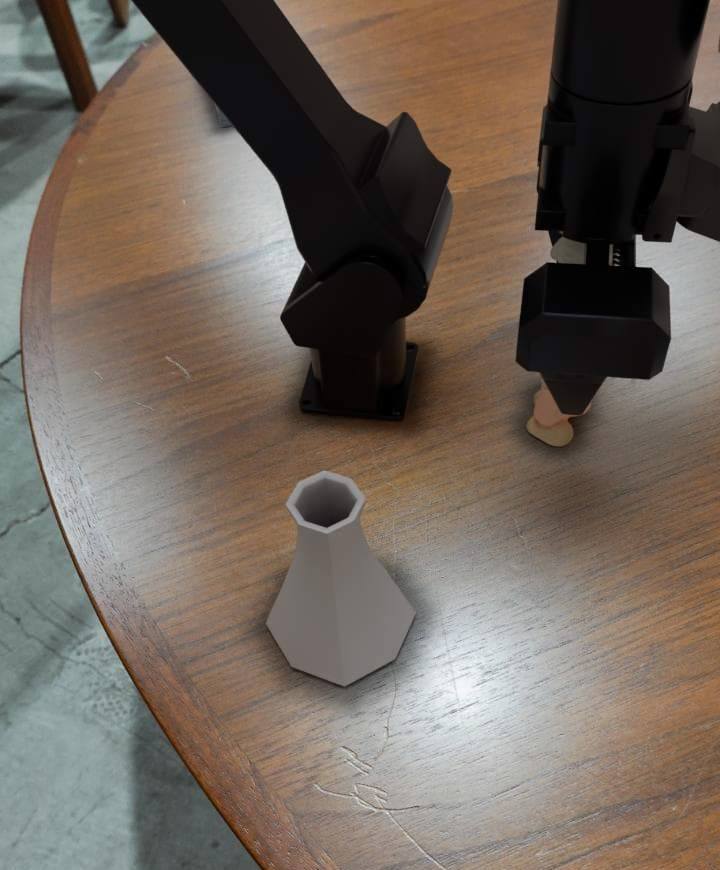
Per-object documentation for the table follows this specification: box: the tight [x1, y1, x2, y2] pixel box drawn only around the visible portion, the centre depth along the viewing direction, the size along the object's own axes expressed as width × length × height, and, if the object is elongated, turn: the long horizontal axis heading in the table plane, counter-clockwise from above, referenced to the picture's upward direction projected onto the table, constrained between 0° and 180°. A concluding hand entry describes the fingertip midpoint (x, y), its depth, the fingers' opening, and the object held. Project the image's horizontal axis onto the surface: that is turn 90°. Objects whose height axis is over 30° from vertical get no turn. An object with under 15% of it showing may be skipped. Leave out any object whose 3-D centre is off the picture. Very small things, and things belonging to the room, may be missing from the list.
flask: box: [265, 469, 417, 687], centre depth 42 cm, size 7×7×10 cm
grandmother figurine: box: [525, 237, 613, 448], centre depth 48 cm, size 8×4×13 cm, turn 172°
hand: (574, 355), depth 49 cm, fingers open, 8 cm apart
